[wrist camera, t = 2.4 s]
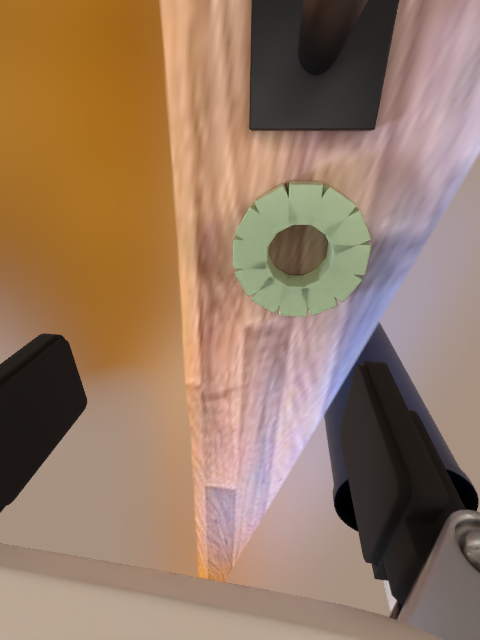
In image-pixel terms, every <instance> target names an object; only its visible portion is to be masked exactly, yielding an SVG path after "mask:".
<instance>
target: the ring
mask: <svg viewBox="0 0 480 640" xmlns="http://www.w3.org/2000/svg"><path fill="white" fill-rule="evenodd" d="M292 225H311V226H313V227H314V228H316V229H317V230H319V231H321V232H322V233H324V234H325V235H326V238H327V240H328V246H327V253H326V257H325V259H324V260H323V261H322V262H321V264H320V265H319V266H318V268H317V269H316V270H314V271H311V272H309V273H307V274H305V275H303V276H302V275H287V274H286V273H284V272H282V271H281V270H279V269H278V268H276V267H275V265H274V263H273V261H272V260H271V258H270V256H269V245H270V243H271V242H272V240H273V239H274V237H275V236H276V234H277V233H278V232H280V231H282V230H284V229H286V228H288V227H290V226H292ZM235 235H236V236H235V237H234V239H233V268H237V269H236V271H235V275H236V277H237V279H238V280H239V282H240V284H241V286H242V287H243V289H244V291H245V292H246V294H247V296H250V295H252V294H253V297H252V300H253V301H254V302H256V303H258V304H259V305H261V306H263V307H264V308H266V309H268V310H269V311H271V312H273V313H275V312H276V311H277V309H278V308H279V315H284V316H299V317H306V316H307V309H308V310H309V312H310V314H311V316H313V315H316V314H318V313H321V312H323V311H326V310H328V309H331V308H333V307H336V306H338V304H337V301H336V298H337V299H338V300H340V301H341V302H344V300H345V299H346V298H347V297H348V296H349V295H350V294H351V293H352V291H353V290H354V289H355V288H356V287H357V286H358V285H359V284H360V282H361V281H362V279H361V277H360V276H359V275H365V273H366V268H367V264H368V259H369V255H370V250H371V245H370V243H369V242H368V241H369V240H371V237H370V234H369V232H368V229H367V226H366V224H365V221H364V218H363V216H362V213H361V211H360V210H359V209H358V208H357V207H356V204H354V203H353V202H352V201H350V200H349V199H348V198H346V197H345V196H343V195H342V194H340V193H339V192H337V191H336V190H335V189H333V188H332V187H330V186H329V185H327V184H326V183H325V184H324V186H323V184H321V183H320V182H319V181H289V190H288V191H287V189H286V186H285V184H284V183H282V184H280V185H278V186H277V187H275V188H273V189H271V190H270V191H268V192H266V193H265V194H263V195H261V196H259V197H258V198H257V199H256V201H255V202H253V203H252V204H251V206H250V207H249V209H248V211H247V213H246V214H245V216H244V218H243V220H242V221H241V223H240V225H239V226H238V228H237V230H236V232H235Z"/></svg>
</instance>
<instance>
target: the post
mask: <svg viewBox="0 0 480 640" xmlns="http://www.w3.org/2000/svg"><path fill="white" fill-rule="evenodd" d="M398 3H399V0H252V15H251V69H250V123H249V129H250V130H251V131H371V130H374V129H375V125H376V119H377V114H378V109H379V103H380V98H381V93H382V88H383V82H384V77H385V72H386V67H387V61H388V56H389V51H390V45H391V40H392V35H393V30H394V24H395V19H396V14H397V9H398Z"/></svg>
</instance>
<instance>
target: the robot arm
mask: <svg viewBox="0 0 480 640" xmlns="http://www.w3.org/2000/svg"><path fill="white" fill-rule="evenodd" d="M86 405H87V398H86V395H85V392H84V389H83V385H82V382H81V379H80V376H79V373H78V370H77V367H76V364H75V360H74V357H73V354H72V351H71V348H70V345H69V343H68V341H67V340H65V338H64V337H63V336H62V335H56V334H41V335H39V336H38V337H36V338H35V339H33V340H32V341H31V342H29V343H28V344H27V345H25V346H24V347H23V348H22V349H20V350H19V351H17V352H16V353H15V354H13V355H12V356H11V357H9V358H8V359H7V360H5V361H4V362H3V363H1V364H0V512H1V511H2V510H3V509H4V507H5V506H6V505H9V504H10V503H12V501H14V500H15V498H16V497H17V496H18V494H19V493H20V492H21V491H22V489H23V488H24V487H25V485H26V484H27V483H28V482H29V480H30V479H31V478H32V476H33V475H34V474H35V473H36V471H37V470H38V469H39V467H40V466H41V465H42V463H43V462H44V461H45V460H46V459H47V457H48V456H49V455H50V453H51V452H52V451H53V449H54V448H55V447H56V446H57V444H58V443H59V442H60V441H61V439H62V438H63V437H64V435H65V434H66V433H67V432H68V430H69V429H70V428H71V426H72V425H73V424H74V423H75V421H76V420H77V419H78V417H79V416H80V415H81V413H82V412H83V411H84V409H85V408H86ZM340 437H341V443H342V448H343V453H344V459H345V464H346V469H347V474H348V480H349V485H350V490H351V495H352V501H353V506H354V511H355V516H356V521H357V527H358V532H359V537H360V542H361V547H362V553H363V557H364V560H365V561H366V562H367V563H372V567H373V572H374V577H375V579H380V580H383V581H384V586H385V590H386V594H387V599H388V603H389V608H390V612H391V613H390V615H389V617H387V616H384V615H380V614H376V613H373V612H369V611H365V610H361V609H357V608H353V607H349V606H345V605H341V604H336V603H330V602H325V601H320V600H316V599H311V598H306V597H301V596H295V595H290V594H285V593H280V592H275V591H270V590H265V589H259V588H254V587H249V586H243V585H237V584H232V583H226V582H220V581H215V580H209V579H204V578H198V577H192V576H186V575H181V574H175V573H170V572H164V571H158V570H153V569H147V568H141V567H136V566H130V565H123V564H118V563H111V562H106V561H101V560H95V559H89V558H83V557H77V556H72V555H66V554H60V553H54V552H48V551H42V550H37V549H31V548H24V547H19V546H13V545H7V544H1V543H0V640H480V513H479V512H476V511H473V510H466V509H465V507H464V505H463V503H462V501H461V499H460V497H459V495H458V493H457V491H456V489H455V487H454V485H453V483H452V481H451V479H450V477H449V475H448V473H447V471H446V469H445V467H444V465H443V463H442V461H441V459H440V457H439V455H438V453H437V451H436V449H435V447H434V445H433V443H432V441H431V439H430V437H429V435H428V433H427V431H426V429H425V427H424V425H423V423H422V421H421V419H420V417H419V416H418V414H417V413H416V412H415V411H413V410H408V408H407V406H406V404H405V402H404V400H403V398H402V396H401V394H400V392H399V389H398V387H397V385H396V383H395V381H394V379H393V377H392V375H391V373H390V370H389V368H388V366H387V365H386V363H383V362H371V361H364V363H363V364H362V365H357V366H356V369H355V373H354V377H353V381H352V385H351V389H350V393H349V397H348V401H347V404H346V408H345V412H344V416H343V420H342V424H341V430H340Z"/></svg>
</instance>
